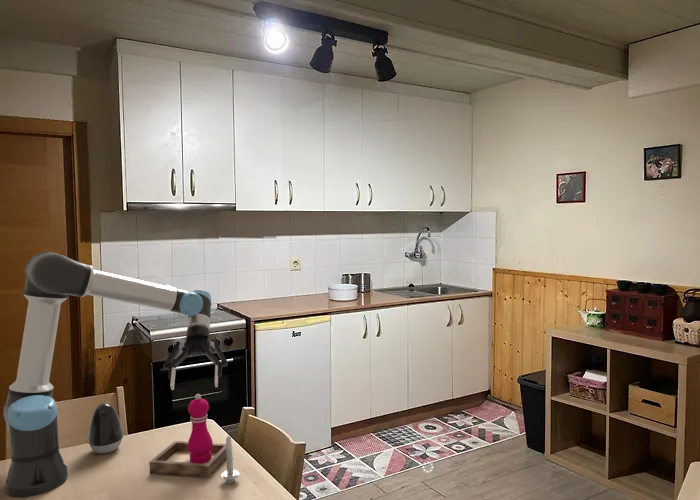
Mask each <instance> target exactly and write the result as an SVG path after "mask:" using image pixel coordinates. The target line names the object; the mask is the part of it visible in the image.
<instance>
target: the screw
mask: <svg viewBox="0 0 700 500" xmlns="http://www.w3.org/2000/svg"><path fill="white" fill-rule="evenodd" d="M225 442H226V443H225V444H226V454H227V455H226V456H227V457H226V458H227V459H226V460H225V462H226V463H225V464H226V470H225V471H223V472H222V473H221V476H220V477H221V479H223V480H225V483H226V484H229V485H231V484H235V483H236V478H239V476H240V472H239V471H238V470H237V469H234V457H233V456H234V455H233V452H234V451H233V449H234V448H233V444H232V437H231V436H229V435H228V436H226V440H225Z"/></svg>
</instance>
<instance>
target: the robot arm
mask: <svg viewBox="0 0 700 500" xmlns="http://www.w3.org/2000/svg"><path fill="white" fill-rule="evenodd" d="M24 274H25V277H26V279H25V285H24V291H23V296H24V297H25V298H26V300H27V301H28V302H27V303H28V304H27V309H26V315H25V316H26V317H25V323H24V327H23V329H24V330H23V336H22V341H21V348H20V354H19V360H18V367H17V374H16V380H15V381H14V382H13V383H12V384H10V385H9V386H8V392H7V397H6V401H5V402H4V406H3V409H2V410H3V411H2V415H3V419H4V422H5V423H6V428H7V429H8V436H9V437H8V438H9V447H10V465H9V468H8V472H7V477H6V479H5V484H4V485H5V489H4V490H5V493H6V494H7V495H8V496H12V497H16V496H24V497H30V496H31V495H32V496H36V495H40V494H43V493H46V492H49V491H51V490H53V489H56V488H58V487H60V486H61V485H62V484H63V483H65V482H66V480H67V479H68V477H69V475H68V474H69V473H68V467H67V465H66V464H65V463H64V458H63V457H62V455H61V452H60V442H59V429H58V428H59V426H58V407H57V403H56V400H55V399H54V398H53V394H54V385H53V384H52V383H51V382H50V377H51V370H52V363H53V357H54V350H55V344H56V339H57V331H58V326H59V325H58V324H59V317H60V312H61V307H62V306H61V305H62V303H64V302H65V301H66V300H67V299H68V297H69V296H74V297H77V298H83V297H85V296H91V297H95V298H101V299H102V298H103V299H106V300H111V301H118V302H124V303H126V304H127V303H128V304H133V305H137V306H138V305H139V306H143V307H148V308H154V309H158V310H163V311H168V312H171V313H178V314H182V315H184V316H187V326H186V337H185V342H180V341H178V340H177V341H176V342H175V344H174V345H175V346H174V348H173V349H172V351H171V352H170V353H169V355H168V356H167V358H166V360H165V361H164V362H163V364H162V366H163V369H164V370H165V371H167V373H168V374H167V377H168V380H170V384H169V385H170V386H169V387H170V389H171V391H174V390H175V383H176V382H175V380H176V373H177V372H176V369H177V367H179V366H180V364H182V363H183V362H184V360H186V359H187V358H189V357H190V356H192V357H193V356H194V357H195V356H202V355H204V356H205V357H206V358H208V360H210V361H211V362H212V363H213V364H214V387H215V388H219V378H221V377H222V374H223V368H225V367H228V360H227V358H226V356H225V355H224V353H223V351H222V349H221V348H220V346H219V340H218V339H214V341H210V329H211V311H212V296H211V293H210V292H209V291H207V290H205V289H195V290H193V291H190V290H187V289H182V288H179V287H176V286H174V285H172V284H171V285H170V284H167V283H163V284H159V283H154V282H149V281H144V280H142V279H141V280H140V279H137V278H132V277H129V276H124V275H123V276H122V275H119V274H115V273H110V272H106V271H102V270H97V269H94V267H93V266H92V265H90V264H86V263H82V262H79V261H77V260H74V259H72V258H70V257H68V256H65V255H62V254H60V253H58V252H54V251H44V252H40V253H38V254H35V255H34V256H33V257H32V258H31V259H30V260H29V261H28V262H27V264H26V267H25V271H24ZM210 347H212V348H213V349H214V350H215V352H216V355H217V356H218V358H217V357H216V356H215V355H214V354H213V352H212V351H210ZM183 348H184V349H183ZM182 349H183V350H182ZM181 350H182V352H181V353H180V351H181ZM179 353H180V354H179ZM219 359H220V360H219Z"/></svg>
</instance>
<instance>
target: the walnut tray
mask: <svg viewBox="0 0 700 500" xmlns="http://www.w3.org/2000/svg"><path fill="white" fill-rule="evenodd" d="M210 451H211V454H212V458H211V460H210V461H208V462H206V463H202V464H199V463H191V462H190V454H191V453H190V452H189V450H188V441H183V440H182V441H181V440H174V441H173V442H172V443H171V444H169V445H168V446H167V447H165V448H164V449H163V450H162V451H161V452H160V453H158V454H157V455H156V456H155V457H153V458H152V459H151V460H150V461H148V463H149V474H150V475H162V476H175V477H188V478H198V479H210V478H211V477H212V476H213V475H214V473H216V471H218V469H219V468H220V467H222V465H223V464H224V463H225V462H226V461H227V460H226V459H227V458H226V457H227V456H226V455H227V454H226V443H214V442H213V446H212V448H211V450H210Z"/></svg>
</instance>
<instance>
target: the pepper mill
mask: <svg viewBox="0 0 700 500" xmlns="http://www.w3.org/2000/svg"><path fill="white" fill-rule="evenodd" d="M209 409H210V406H209V402H208V401H207V399H205V398H202V395H201V394H200V393H196V394H195V396H194V399H193V400H191V401H190V402H189V404H188V407H187V411H188V414H189V415H190V417H189V418H190V419H189V420H190V422H191V433H190V436H189V438H188V441H187V442H188V450H189V452H190V453H191V454H190V462H191V463H199V464H202V463H206V462H208V461H210V460H211V458H212V454H211V451H210V450H211V448H212V446H213V443H214V442H213V439H212V436H211V434H210V432H209V429H208V427H207V420H208V419H209V418H208V411H209Z"/></svg>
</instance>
